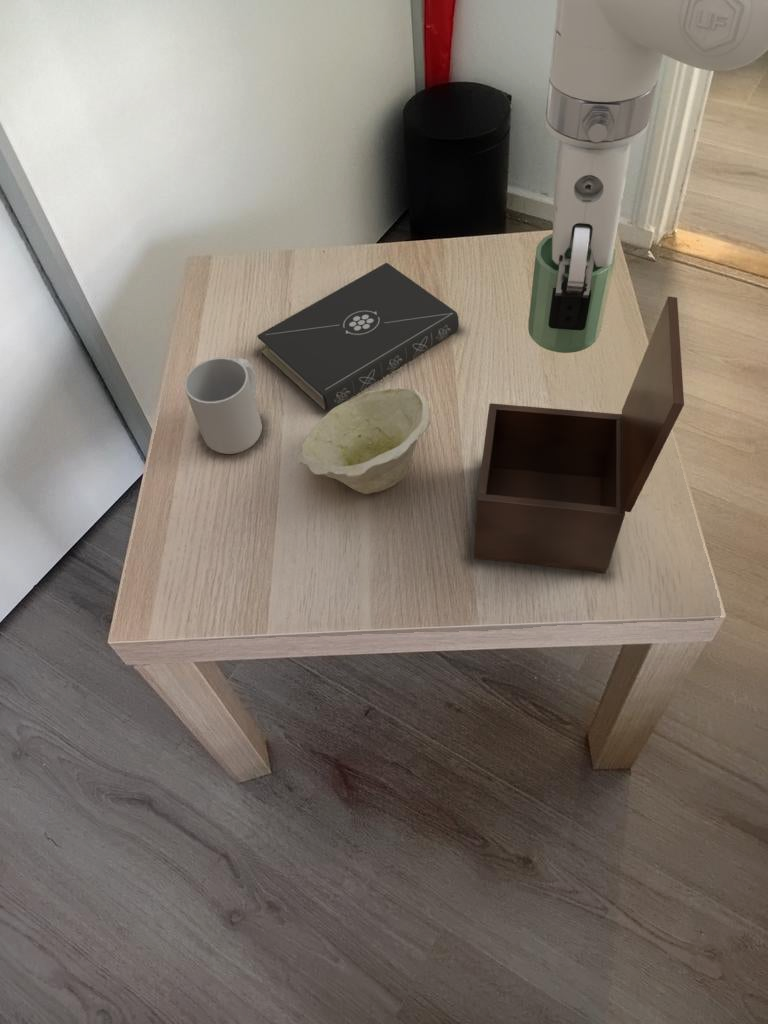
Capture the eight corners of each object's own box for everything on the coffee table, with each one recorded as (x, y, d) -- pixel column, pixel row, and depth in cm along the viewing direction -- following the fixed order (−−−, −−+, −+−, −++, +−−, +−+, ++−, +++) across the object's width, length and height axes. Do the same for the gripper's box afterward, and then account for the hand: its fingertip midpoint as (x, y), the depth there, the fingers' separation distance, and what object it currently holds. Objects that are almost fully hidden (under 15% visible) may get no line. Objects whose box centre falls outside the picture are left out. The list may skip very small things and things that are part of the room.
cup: (192, 446, 94) (171, 393, 86) (233, 389, 99) (217, 335, 92) (244, 462, 92) (227, 410, 84) (284, 404, 97) (271, 350, 90)
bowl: (365, 405, 96) (358, 343, 88) (456, 459, 90) (458, 398, 82) (279, 481, 90) (263, 421, 82) (371, 544, 84) (363, 487, 76)
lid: (673, 403, 59) (684, 404, 59) (667, 296, 67) (677, 297, 67) (621, 511, 71) (630, 512, 71) (621, 410, 78) (629, 411, 78)
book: (327, 414, 95) (325, 397, 93) (260, 352, 102) (256, 335, 100) (459, 332, 102) (459, 314, 100) (387, 279, 110) (386, 261, 107)
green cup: (600, 308, 76) (616, 231, 69) (598, 356, 72) (614, 279, 65) (531, 303, 77) (539, 227, 70) (525, 350, 73) (532, 274, 66)
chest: (473, 558, 82) (477, 499, 74) (485, 465, 89) (489, 402, 81) (606, 573, 80) (625, 514, 72) (607, 477, 87) (624, 414, 79)
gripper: (652, 171, 52) (608, 369, 66) (651, 48, 61) (613, 244, 76) (537, 166, 53) (518, 362, 67) (554, 47, 63) (534, 240, 77)
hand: (569, 298), depth 71 cm, fingers closed on green cup, 6 cm apart
